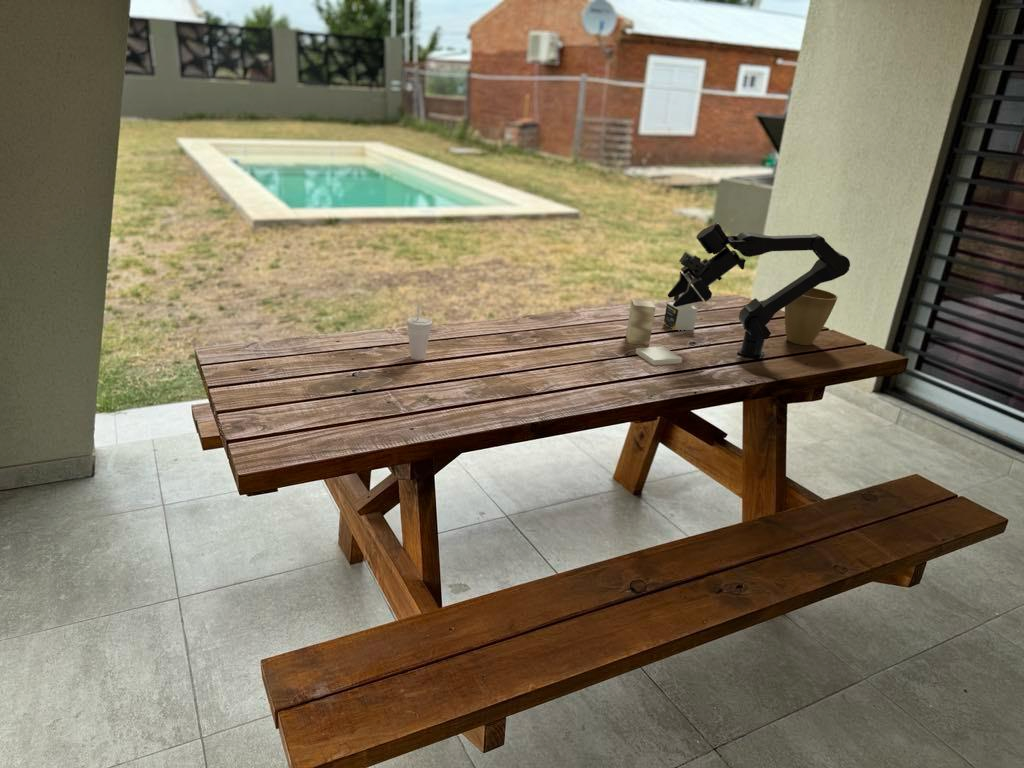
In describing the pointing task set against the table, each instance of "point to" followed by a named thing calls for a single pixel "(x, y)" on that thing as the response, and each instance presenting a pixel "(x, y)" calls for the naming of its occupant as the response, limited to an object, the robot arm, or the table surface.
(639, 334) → the beige rectangular block
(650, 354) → the top slab
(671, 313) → the medicine bottle
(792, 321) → the plant pot
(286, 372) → the table surface
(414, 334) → the smoothie
